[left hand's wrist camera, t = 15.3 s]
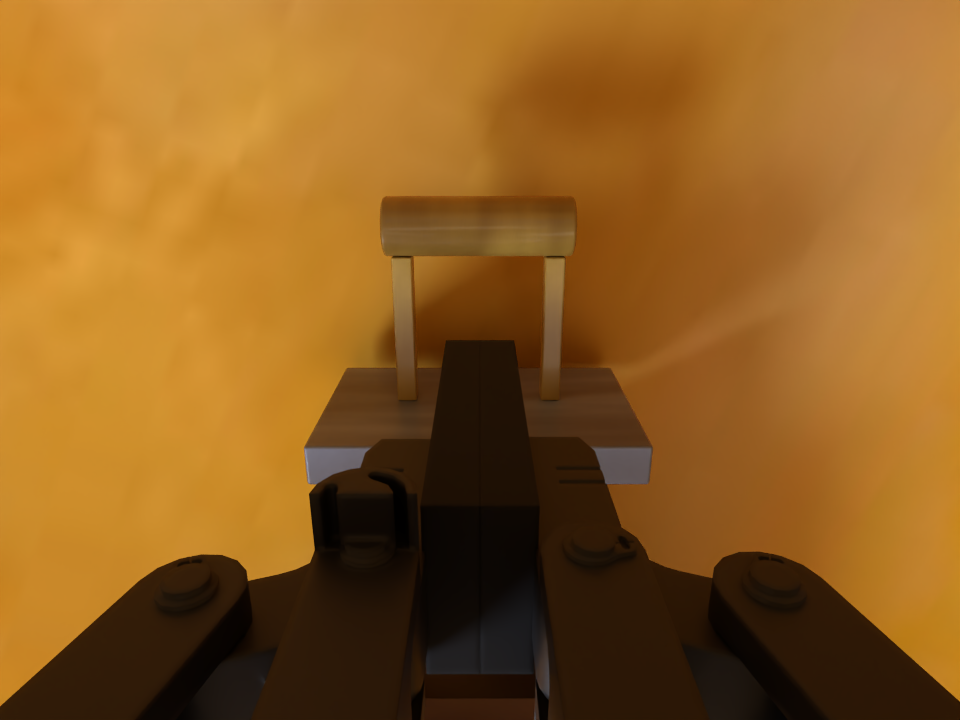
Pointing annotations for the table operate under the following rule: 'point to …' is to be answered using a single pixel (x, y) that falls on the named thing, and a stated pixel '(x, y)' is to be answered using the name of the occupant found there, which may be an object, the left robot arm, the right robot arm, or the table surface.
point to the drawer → (413, 391)
